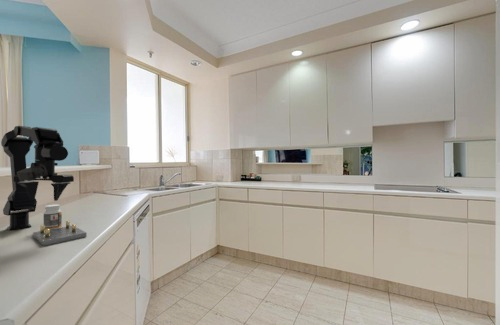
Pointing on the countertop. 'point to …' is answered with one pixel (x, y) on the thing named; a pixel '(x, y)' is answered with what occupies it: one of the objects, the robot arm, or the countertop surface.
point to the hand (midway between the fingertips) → (44, 200)
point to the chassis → (58, 234)
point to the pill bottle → (52, 217)
